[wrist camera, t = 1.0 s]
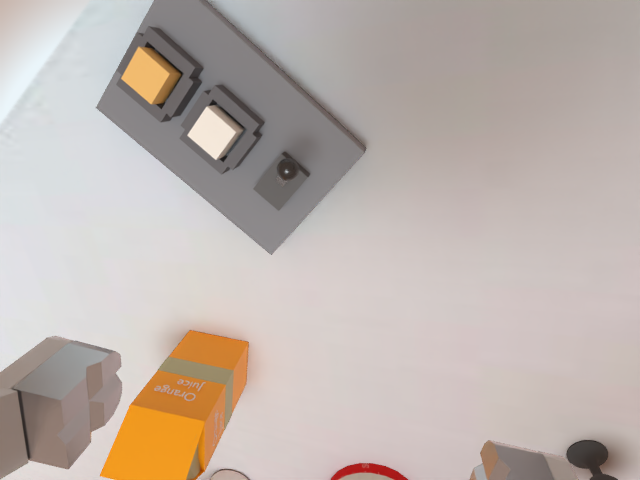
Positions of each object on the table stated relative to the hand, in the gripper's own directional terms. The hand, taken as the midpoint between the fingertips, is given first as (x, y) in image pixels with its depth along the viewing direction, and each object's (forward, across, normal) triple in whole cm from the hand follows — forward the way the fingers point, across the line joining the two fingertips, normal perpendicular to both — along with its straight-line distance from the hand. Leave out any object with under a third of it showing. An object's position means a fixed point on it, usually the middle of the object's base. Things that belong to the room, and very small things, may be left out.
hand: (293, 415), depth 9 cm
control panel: (+38, +15, 0) cm, 41 cm away
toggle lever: (+33, +8, +4) cm, 34 cm away
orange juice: (+39, +15, +33) cm, 53 cm away
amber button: (+34, +22, -4) cm, 41 cm away
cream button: (+34, +15, 0) cm, 37 cm away
